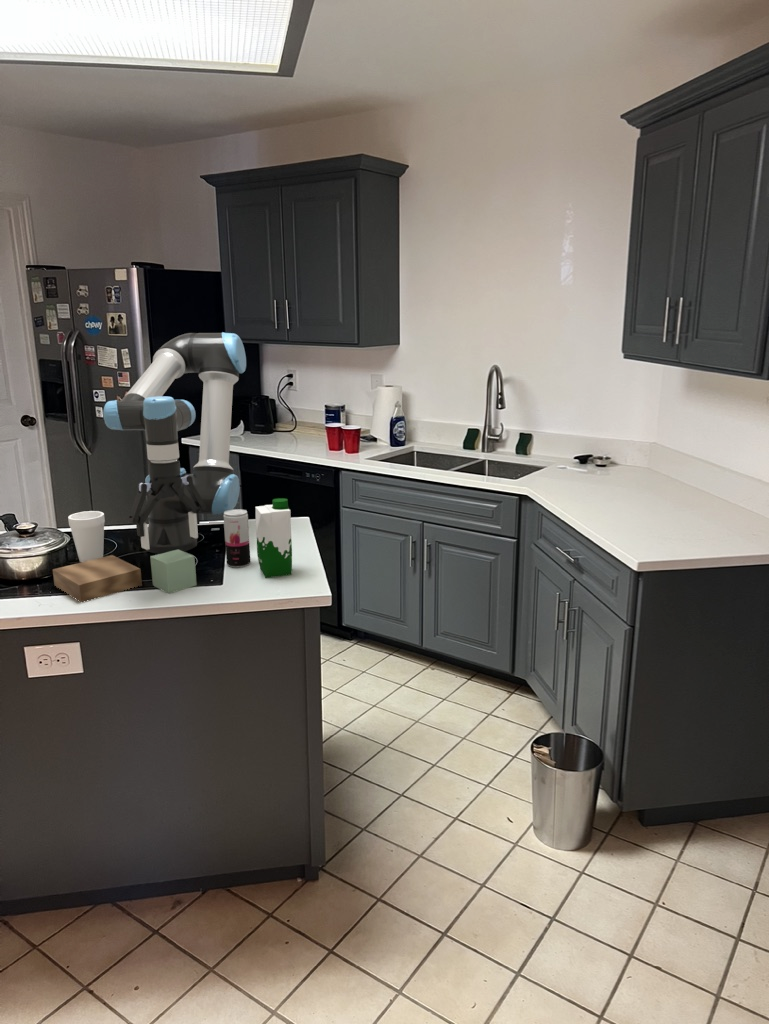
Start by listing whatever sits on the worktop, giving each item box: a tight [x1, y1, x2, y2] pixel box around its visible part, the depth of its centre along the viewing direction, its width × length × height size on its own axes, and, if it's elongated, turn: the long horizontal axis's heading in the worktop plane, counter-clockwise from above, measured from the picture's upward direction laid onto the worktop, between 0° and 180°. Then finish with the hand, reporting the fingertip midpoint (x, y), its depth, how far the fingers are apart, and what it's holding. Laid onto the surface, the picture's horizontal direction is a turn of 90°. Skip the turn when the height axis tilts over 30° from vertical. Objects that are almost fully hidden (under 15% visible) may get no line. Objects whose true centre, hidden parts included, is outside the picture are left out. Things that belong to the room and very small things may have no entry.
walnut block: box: [52, 554, 143, 603], centre depth 194 cm, size 16×16×5 cm
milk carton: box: [254, 497, 293, 579], centre depth 200 cm, size 9×9×20 cm
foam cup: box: [67, 510, 106, 563], centre depth 213 cm, size 10×9×13 cm
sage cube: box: [150, 549, 198, 594], centre depth 193 cm, size 8×8×8 cm
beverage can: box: [222, 508, 251, 568], centre depth 208 cm, size 6×7×15 cm
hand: (170, 542), depth 191 cm, fingers open, 13 cm apart
